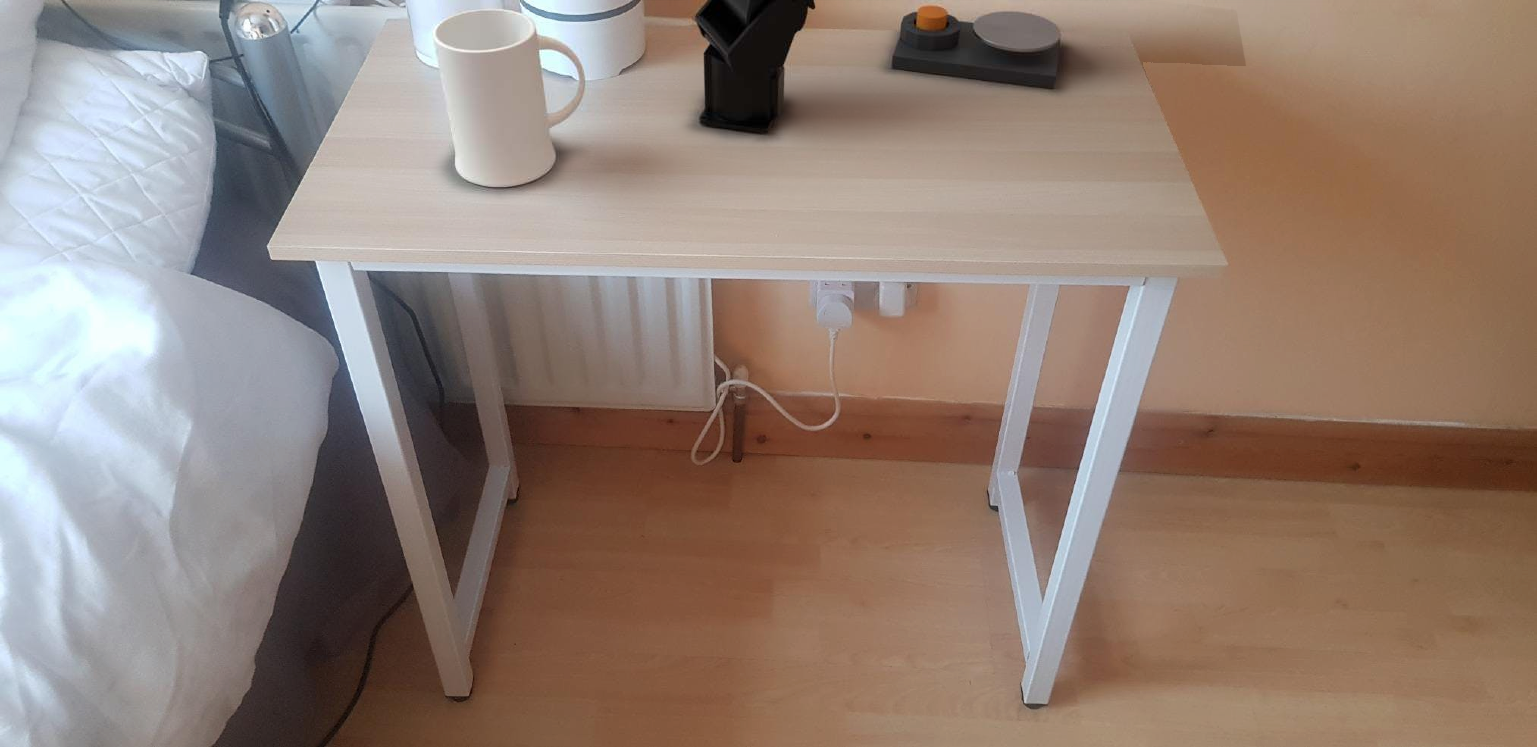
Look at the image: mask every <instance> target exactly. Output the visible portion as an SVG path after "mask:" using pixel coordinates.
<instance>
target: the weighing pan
mask: <svg viewBox="0 0 1537 747" xmlns="http://www.w3.org/2000/svg"><path fill="white" fill-rule="evenodd" d="M973 23H974V24H973V33H974V35H975V36H976V37H977V38H978V39H979V40H980V41H982V42H983V43H985V44H987V45H990V46H992V47H995V48H998V49H1002V50H1007V51H1014V52H1036V51H1042V50H1046V49H1049V48H1051V47H1053V46H1055V45H1056V44H1057V43H1058V41H1059V40H1060V41H1061V37H1060V35H1061V36H1062V33H1061V30H1060V28H1059V27H1058V25H1056V24H1055V23H1054V22H1053V21H1052V20H1049V19H1047V18H1045V17H1043V16H1040V15H1036V14H1033V13H1028V12H1024V11H1023V12H1022V11H1010V10H1005V11H1004V10H1003V11H995V12H990V13H989V12H988V13H985V14H983V15H981V16H979V17H978V18H976V19H975V21H974V22H973Z"/></svg>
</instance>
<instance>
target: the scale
mask: <svg viewBox="0 0 1537 747" xmlns="http://www.w3.org/2000/svg"><path fill="white" fill-rule="evenodd" d="M917 12H918V11H912V12H910V13H908V14H906V15H904V16H903V17H902V20H901V23H900V30H899V37H898V40H897V42H896V46H895V49H894V51H893V54H892V57H891V58H892V59H891V69H895V70H903V71H909V72H917V73H926V74H933V75H942V76H949V77H955V78H964V79H972V80H978V81H979V80H980V81H986V82H987V81H988V82H996V83H1004V84H1011V85H1019V86H1027V87H1035V88H1041V89H1049V90H1054V88H1055V84H1056V81H1057V80H1056V79H1057V73H1058V63H1059V54H1060V46H1061V39H1060V40H1059V41H1058V43H1057V44H1056V45H1055V46H1053V47H1051V48H1049V49H1046V50H1042V51H1036V52H1014V51H1007V50H1002V49H998V48H995V47H992V46H990V45H987V44H985V43H983V42H982V41H980V40H979V39H978V38H977V37H976V36H975V35H974V33H973V24H974V22H969V21H961V20H959V19H958V18H957V17H955V16H954V15H951V14H949V13H948V14H947V22H946V28H945V29H943V30H938V31H930V30H923V29H921V28H918V27H916V21H917ZM1061 36H1062V34H1061V35H1060V38H1061Z"/></svg>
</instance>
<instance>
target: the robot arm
mask: <svg viewBox="0 0 1537 747" xmlns="http://www.w3.org/2000/svg"><path fill="white" fill-rule="evenodd" d="M809 9H810V10H815V9H816V3H815V0H706V1H705V3H704V4H703V5H702V7H700V9H699V10H698V11H697V13H696V14H695V15H694V20H695V23H696V25H697V27H698V30H699V32H700V35H701V36H702V37H703V38H704V39H706V41H707V42H708V43H709V45H708V46H707V47H706V49H705V50H704V53H703V83H704V84H703V85H704V88H703V89H704V109H703V111H702V113H701V114H700V116H699V119H698V122H699V124H700V125H704V126H709V127H710V126H711V127H719V128H724V129H725V128H726V129H732V130H739V131H746V132H754V133H761V134H765V133H769V130H770V129H771V126H772V124H773V123H774V121H775V120H776V119H778V117H779V115H780V113H781V111H782V109H783V108H784V104H785V73H786V72H785V71H786V68H785V63H786V60H787V57H788V54H789V52H790V49H791V47H792V44H793V41H794V38H795V35H796V34H797V33H798V32H801V31H802V30H803V28H804V26H805V24H806V21H807V18H808V13H809Z"/></svg>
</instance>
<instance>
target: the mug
mask: <svg viewBox="0 0 1537 747" xmlns="http://www.w3.org/2000/svg"><path fill="white" fill-rule="evenodd" d="M432 40H433V45H434V50H435V55H436V60H437V65H438V71H439V76H440V80H441V86H442V90H443V96H444V101H445V105H446V111H447V114H448V119H449V120H448V121H449V127H450V130H451V135H452V142H453V147H454V154H455V158H454V167H455V170H456V172H457V173H458V175H459V176H460V177H461V178H463V179H464V180H465V181H467V182H469V183H472V184H475V185H478V186H483V187H489V188H490V187H491V188H507V187H508V188H509V187H515V186H516V187H517V186H521V185H524V184H528V183H531V182H533V181H535V180H538V179H539V178H541V177H543V176H545V175H546V174H547V173H548V172H550V170H551V169H552V168H553V166H554V165H555V163H556V160H557V159H556V158H557V156H556V151H555V150H556V149H555V148H554V145H553V143H552V137H551V131H550V129H552V128H553V127H555V126H557V125H559V124H561V123H563V122H564V121H566V120H567V119H568V118H570V117H571V116H572V115H573V114H574V113H575V111H576V110H577V108H578V107H579V106H580V104H581V102H582V100H583V97H584V94H585V89H586V76H585V71H584V68H583V65H582V63H581V61H580V58H579V57H578V56H577V54H576V53H575V52H574V51H573V50H572V49H571V47H569V46H568V45H567V44H565V43H564V42H562V41H560V40H558V39H556V38H554V37H550V36H545V35H541V34H539V33H538V32H537V26H536V23H535V22H534V20H533V19H532V18H531V17H529V16H528V15H526V14H524V13H521V12H518V11H514V10H510V9H501V8H482V9H473V10H467V11H463V12H460V13H456V14H453V15H451V16H448V17H446V18H445V19H442V20H441V21H440V22H439V23H438V24H436V26H435V27H434V28H433V31H432ZM543 50H544V51H545V50H548V51H549V50H551V51H554V52H558V53H560V54H563V55H564V56H566V57H567V59H569V60H570V61H571V63H572V64H573V65H574V67H575V68H576V71H577V74H578V87H577V90H576V93H575V95H574V96H573V98H572V99H571V101H570V102H569V103H568V104H567V105H566V106H564V107H563V108H561V109H560V110H558V111H555V112H550V113H548V108H547V102H546V100H547V99H546V93H545V92H546V91H545V85H544V78H543V71H542V64H541V63H542V62H541V54H540V51H543Z"/></svg>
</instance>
